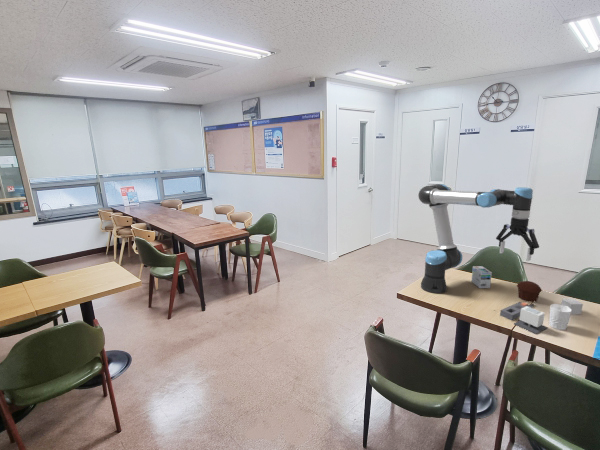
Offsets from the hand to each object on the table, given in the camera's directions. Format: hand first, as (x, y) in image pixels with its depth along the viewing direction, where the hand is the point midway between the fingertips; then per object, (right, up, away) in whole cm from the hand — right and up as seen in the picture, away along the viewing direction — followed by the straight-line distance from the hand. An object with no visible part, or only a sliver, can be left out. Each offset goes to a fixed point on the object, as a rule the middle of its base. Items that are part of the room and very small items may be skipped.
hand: (514, 256), depth 169 cm
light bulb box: (+1, -22, +33) cm, 40 cm away
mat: (-1, -33, -14) cm, 36 cm away
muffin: (+17, -26, +14) cm, 34 cm away
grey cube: (+29, -29, -1) cm, 41 cm away
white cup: (+11, -33, -14) cm, 38 cm away
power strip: (+3, -29, 0) cm, 30 cm away
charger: (-2, -32, -14) cm, 35 cm away
